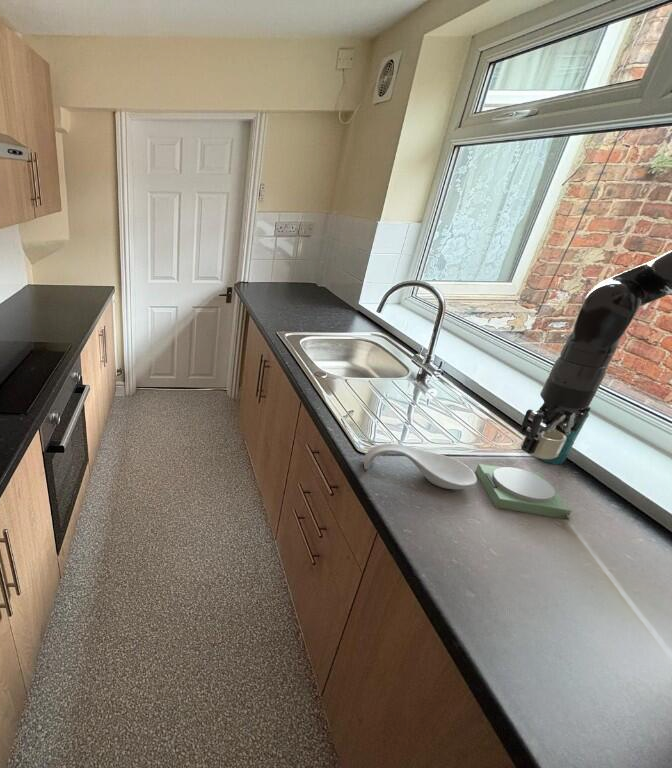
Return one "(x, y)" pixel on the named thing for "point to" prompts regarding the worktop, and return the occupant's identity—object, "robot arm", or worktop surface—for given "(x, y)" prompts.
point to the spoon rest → (429, 465)
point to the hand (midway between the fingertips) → (539, 449)
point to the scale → (521, 491)
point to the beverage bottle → (566, 446)
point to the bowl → (549, 444)
